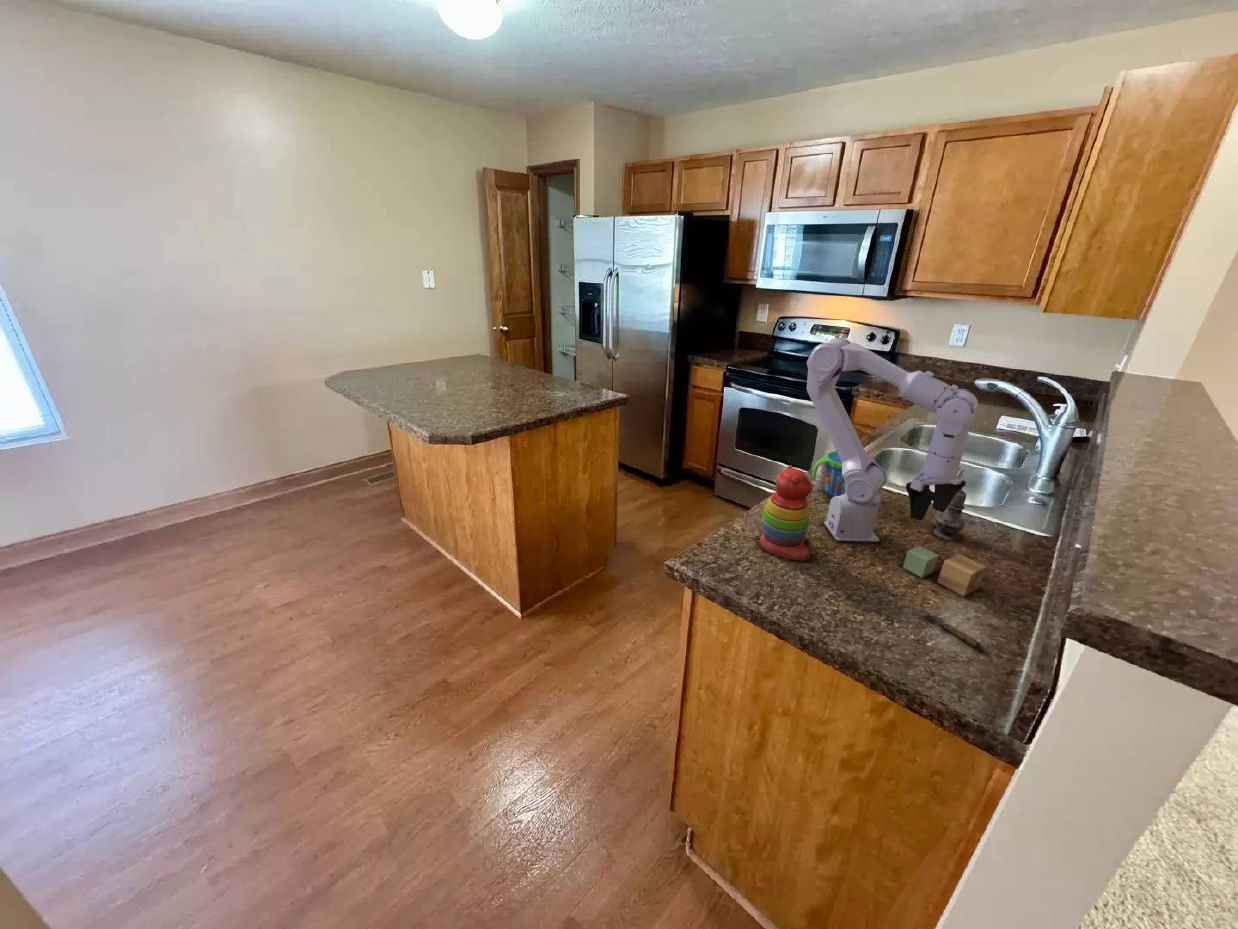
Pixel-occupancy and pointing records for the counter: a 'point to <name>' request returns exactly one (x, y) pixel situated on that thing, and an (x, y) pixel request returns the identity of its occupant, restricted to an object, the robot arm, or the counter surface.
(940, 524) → the grey fire hydrant
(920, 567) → the top cube
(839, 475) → the snack cup
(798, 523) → the stacking bear
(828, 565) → the counter surface
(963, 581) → the base block
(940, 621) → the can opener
